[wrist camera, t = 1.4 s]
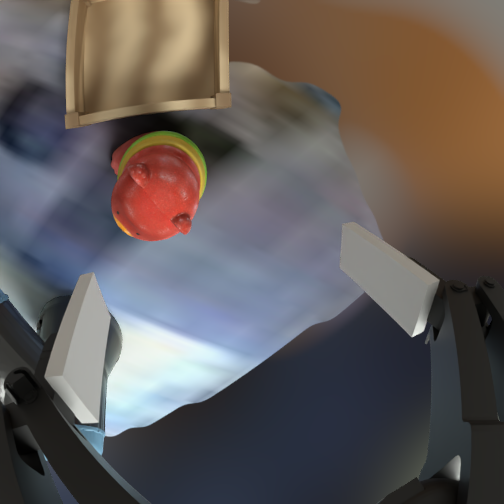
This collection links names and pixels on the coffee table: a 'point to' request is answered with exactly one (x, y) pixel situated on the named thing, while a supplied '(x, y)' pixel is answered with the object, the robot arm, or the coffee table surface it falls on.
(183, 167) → the stacking bear
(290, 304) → the coffee table surface
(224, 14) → the crate
